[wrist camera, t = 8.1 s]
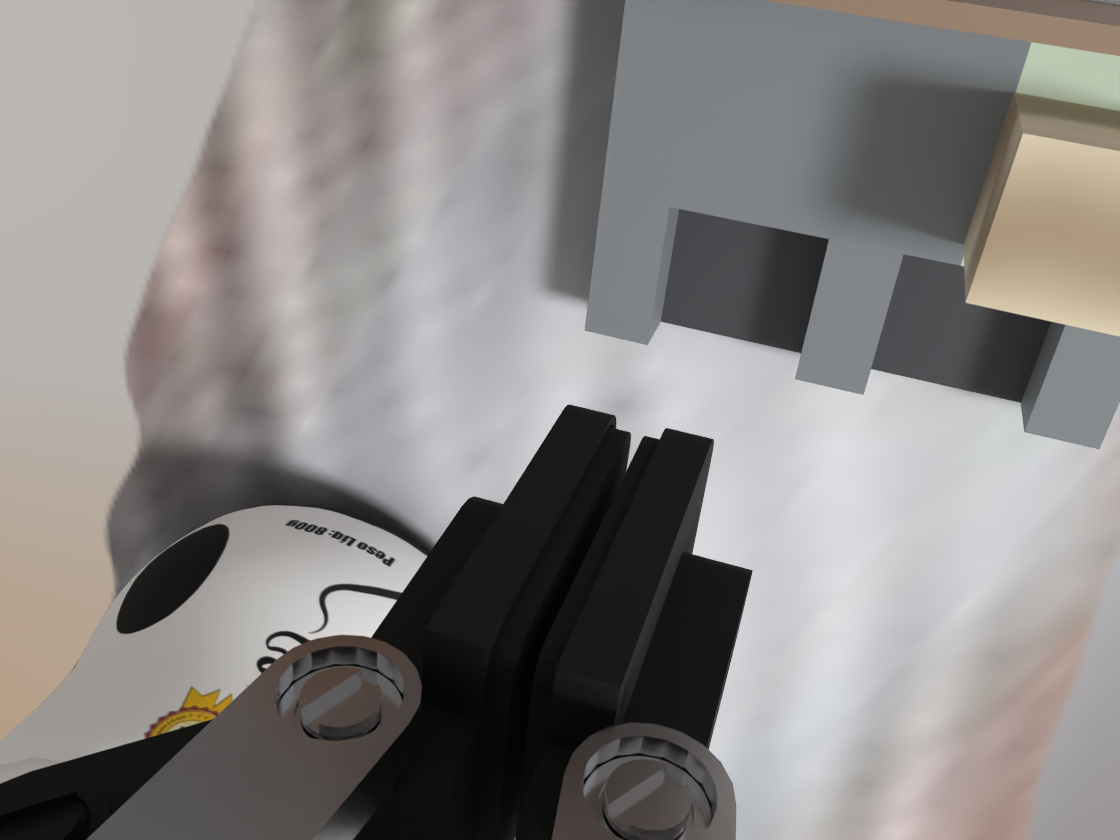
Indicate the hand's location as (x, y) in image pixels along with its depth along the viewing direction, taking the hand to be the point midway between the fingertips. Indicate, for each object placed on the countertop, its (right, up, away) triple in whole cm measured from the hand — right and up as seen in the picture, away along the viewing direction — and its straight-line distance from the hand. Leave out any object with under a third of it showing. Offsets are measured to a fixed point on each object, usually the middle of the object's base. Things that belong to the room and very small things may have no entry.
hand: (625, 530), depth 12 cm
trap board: (+8, +8, +18) cm, 21 cm away
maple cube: (+12, +7, +15) cm, 20 cm away
